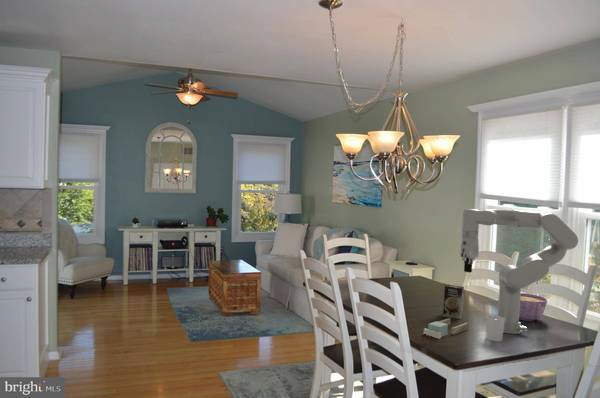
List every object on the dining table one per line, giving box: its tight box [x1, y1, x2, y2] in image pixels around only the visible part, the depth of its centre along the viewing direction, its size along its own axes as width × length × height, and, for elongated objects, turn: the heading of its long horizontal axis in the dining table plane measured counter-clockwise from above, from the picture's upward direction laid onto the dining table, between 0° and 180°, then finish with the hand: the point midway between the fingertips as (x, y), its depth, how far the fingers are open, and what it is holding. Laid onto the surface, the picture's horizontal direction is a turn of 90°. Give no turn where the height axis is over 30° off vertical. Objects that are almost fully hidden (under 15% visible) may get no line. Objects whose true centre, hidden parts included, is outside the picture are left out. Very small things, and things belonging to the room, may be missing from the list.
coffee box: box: [442, 284, 465, 320], centre depth 263 cm, size 9×6×16 cm
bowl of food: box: [519, 292, 548, 322], centre depth 264 cm, size 20×20×12 cm
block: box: [427, 320, 449, 338], centre depth 231 cm, size 6×7×5 cm
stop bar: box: [423, 327, 442, 339], centre depth 228 cm, size 8×2×2 cm, turn 44°
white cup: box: [485, 314, 505, 342], centre depth 227 cm, size 8×8×10 cm
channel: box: [438, 317, 469, 336], centre depth 240 cm, size 10×14×3 cm
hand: (467, 271), depth 244 cm, fingers closed
